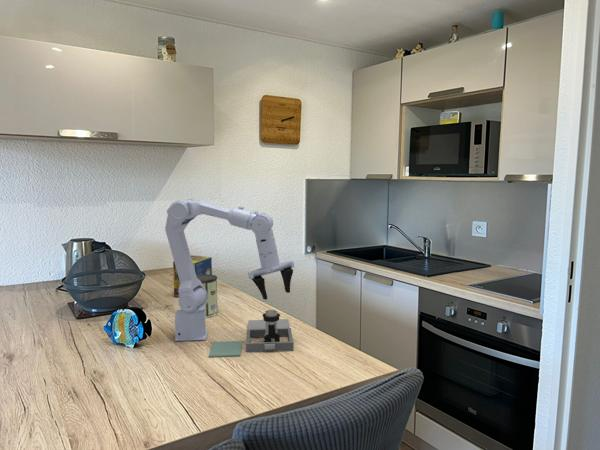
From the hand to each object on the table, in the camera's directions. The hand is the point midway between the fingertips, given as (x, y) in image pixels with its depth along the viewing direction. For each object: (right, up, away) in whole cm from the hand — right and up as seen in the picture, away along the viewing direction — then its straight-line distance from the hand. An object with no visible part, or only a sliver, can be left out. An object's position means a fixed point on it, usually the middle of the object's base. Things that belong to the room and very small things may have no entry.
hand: (276, 295), depth 141 cm
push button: (-2, -15, 0) cm, 15 cm away
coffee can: (-29, -12, +30) cm, 43 cm away
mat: (-15, -15, -5) cm, 22 cm away
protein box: (-39, -9, +59) cm, 71 cm away
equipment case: (-3, -14, +6) cm, 16 cm away
